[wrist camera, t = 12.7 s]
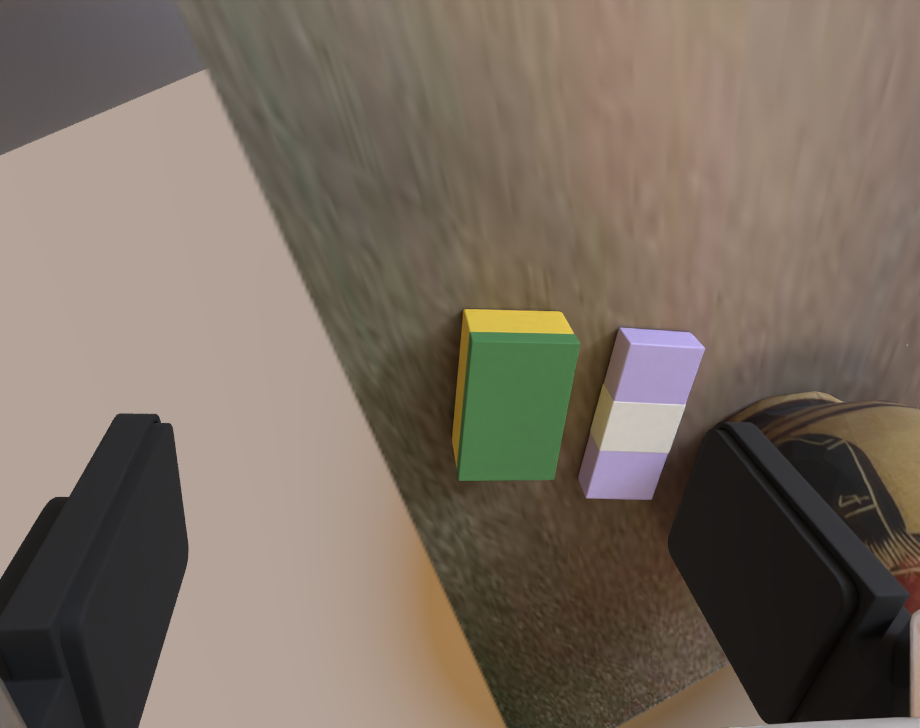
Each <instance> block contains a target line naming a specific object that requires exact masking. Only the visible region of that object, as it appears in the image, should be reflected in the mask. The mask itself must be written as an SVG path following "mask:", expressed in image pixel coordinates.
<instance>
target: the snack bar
mask: <svg viewBox="0 0 920 728" xmlns="http://www.w3.org/2000/svg"><path fill="white" fill-rule="evenodd" d="M704 350H705V348H704V347H703V345H702V344H701V343H700V342H699V341H698V340H697V339H696V338H695V337H694V336H693V335H692V333H690V332H678V331H663V330H648V329H633V328H619V330H618V333H617V337H616V341H615V344H614V348H613V352H612V355H611V359H610V363H609V366H608V370H607V374H606V377H605V381H604V383H603V385H602V389H601V393H600V396H599V400H598V404H597V407H596V411H595V415H594V418H593V422H592V426H591V429H590V436H589V439H588V443H587V447H586V450H585V454H584V458H583V461H582V465H581V469H580V472H579V476H578V480H579V482H580V485H581V487H582V490H583V492H584V495H585V497H586V498H593V499H635V500H652V497H653V495H654V492H655V489H656V486H657V483H658V480H659V477H660V475H661V472H662V469H663V466H664V463H665V460H666V458H667V455H668V453H669V451H670V449H671V446H672V443H673V440H674V437H675V434H676V432H677V429H678V426H679V423H680V420H681V417H682V415H683V412H684V409H685V406H686V405H685V404H686V401H687V398H688V395H689V392H690V389H691V387H692V384H693V381H694V378H695V375H696V372H697V370H698V367H699V364H700V361H701V358H702V355H703V353H704Z"/></svg>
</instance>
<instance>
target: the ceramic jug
mask: <svg viewBox="0 0 920 728" xmlns="http://www.w3.org/2000/svg"><path fill="white" fill-rule="evenodd" d="M906 346H908V344H907V345H906ZM725 422H749V423H753V424H754V425H755V426H757V427H758V429H759V430H760V431H761V432H762V433H763V434H764V435H765V436H766V437H767V438H768V439H769V441H770V442H771V443H772V444H773V445H774V446H775V447H776V448H777V449H778V450H779V451H780V453H781V454H782V455H783V456H784V457H785V458H786V459H787V460H788V461H789V462H790V463H791V465H792V466H793V467H794V468H795V469H796V470H797V471H798V472H799V473H800V474H801V475H802V477H803V478H804V479H805V480H806V481H807V482H808V483H809V484H810V485H811V486H812V488H813V489H814V490H815V491H816V492H817V493H818V494H819V495H820V496H821V497H822V498H823V500H824V501H825V502H826V503H827V504H828V505H829V506H830V507H831V508H832V509H833V510H834V512H835V513H836V514H837V515H838V516H839V517H840V518H841V519H842V520H843V521H844V522H845V524H846V525H847V526H848V527H849V528H850V529H851V530H852V531H853V532H854V533H855V535H856V536H857V537H858V538H859V539H860V540H861V541H862V542H863V543H864V544H865V545H866V547H867V548H868V549H869V550H870V551H871V552H872V553H873V554H874V555H875V556H876V557H877V559H878V560H879V561H880V562H881V563H882V564H883V565H884V566H885V567H886V568H887V569H888V571H889V572H890V573H891V574H892V575H893V576H894V577H895V578H896V579H897V580H898V581H899V583H900V584H901V585H902V586H903V587H904V588H905V589H906V590H907V591H908V592H909V594H910V596H909V598H908V599H907V601H906V602H905V604H904V607H905V608H906V609H907V611H908V612H909V613H910V614H911V615H912V614H913V613H915V612H916V611H918V610H919V609H920V409H918V408H914V407H911V406H908V405H904V404H899V403H894V402H890V401H882V400H864V401H852V402H843V401H841V400H838V399H836V398H834V397H833V396H831V395H829V394H827V393H822V392H817V391H812V392H804V393H796V394H788V395H780V396H772V397H769V398H766V399H763V400H761V401H759V402H757V403H755V404H753V405H752V406H750V407H748V408H746V409H745V410H743V411H741V412H739V413H737V414H736V415H734V416H732V417H731V418H730V419H728V420H727V421H725ZM702 443H703V442H702Z"/></svg>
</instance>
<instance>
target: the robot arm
mask: <svg viewBox="0 0 920 728" xmlns="http://www.w3.org/2000/svg"><path fill="white" fill-rule="evenodd" d="M668 548H669V552H670V555H671V557H672V559H673V561H674V562H675V564H676V566H677V568H678V570H679V571H680V573H681V575H682V577H683V579H684V580H685V582H686V584H687V586H688V588H689V589H690V591H691V593H692V595H693V597H694V599H695V600H696V602H697V604H698V606H699V608H700V609H701V611H702V613H703V615H704V617H705V618H706V620H707V622H708V624H709V626H710V627H711V629H712V631H713V633H714V635H715V636H716V638H717V640H718V642H719V644H720V645H721V647H722V649H723V651H724V653H725V655H726V656H727V658H728V660H729V662H730V664H731V665H732V667H733V669H734V671H735V673H736V674H737V676H738V678H739V680H740V682H741V683H742V685H743V687H744V689H745V690H746V692H747V694H748V696H749V698H750V700H751V701H752V703H753V705H754V707H755V709H756V710H757V712H758V714H759V716H760V717H761V719H762V720H763V721H764V722H765V723H767V724H769V725H756V726H741V727H727V728H920V609H919V610H918V611H916V612H915V613H913V614H912V615H911V614H910V613H909V612H908V611H907V609H906V608H905V607H904V604H905V602H906V601H907V599H908V598H909V596H910V594H909V592H908V591H907V590H906V589H905V588H904V587H903V586H902V585H901V584H900V583H899V581H898V580H897V579H896V578H895V577H894V576H893V575H892V574H891V573H890V572H889V571H888V569H887V568H886V567H885V566H884V565H883V564H882V563H881V562H880V561H879V560H878V559H877V557H876V556H875V555H874V554H873V553H872V552H871V551H870V550H869V549H868V548H867V547H866V545H865V544H864V543H863V542H862V541H861V540H860V539H859V538H858V537H857V536H856V535H855V533H854V532H853V531H852V530H851V529H850V528H849V527H848V526H847V525H846V524H845V522H844V521H843V520H842V519H841V518H840V517H839V516H838V515H837V514H836V513H835V512H834V510H833V509H832V508H831V507H830V506H829V505H828V504H827V503H826V502H825V501H824V500H823V498H822V497H821V496H820V495H819V494H818V493H817V492H816V491H815V490H814V489H813V488H812V486H811V485H810V484H809V483H808V482H807V481H806V480H805V479H804V478H803V477H802V475H801V474H800V473H799V472H798V471H797V470H796V469H795V468H794V467H793V466H792V465H791V463H790V462H789V461H788V460H787V459H786V458H785V457H784V456H783V455H782V454H781V453H780V451H779V450H778V449H777V448H776V447H775V446H774V445H773V444H772V443H771V442H770V441H769V439H768V438H767V437H766V436H765V435H764V434H763V433H762V432H761V431H760V430H759V429H758V427H757V426H755V425H754V424H753V423H749V422H721V423H718V424H717V425H716V426H715V427H714V429H713V430H709V431H708V432H707V433H706V435H705V437H704V440H703V443H702V446H701V448H700V451H699V454H698V457H697V459H696V462H695V465H694V468H693V470H692V473H691V476H690V479H689V481H688V484H687V487H686V490H685V492H684V495H683V498H682V501H681V503H680V506H679V509H678V512H677V514H676V517H675V520H674V523H673V525H672V528H671V531H670V534H669V537H668ZM187 561H188V539H187V531H186V524H185V516H184V508H183V501H182V493H181V486H180V478H179V471H178V463H177V456H176V448H175V441H174V433H173V427H172V425H171V424H170V423H161V421H160V418H159V416H158V415H157V414H118V415H116V417H115V418H114V420H113V421H112V423H111V425H110V427H109V428H108V430H107V432H106V434H105V435H104V437H103V439H102V441H101V442H100V444H99V446H98V447H97V449H96V451H95V453H94V454H93V456H92V458H91V460H90V461H89V463H88V465H87V467H86V469H85V470H84V472H83V474H82V476H81V477H80V479H79V481H78V482H77V484H76V486H75V488H74V489H73V491H72V493H71V495H70V496H69V497H55V498H53V499H52V500H50V501H49V502H48V503H47V505H46V506H45V507H44V508H43V510H42V512H41V513H40V515H39V517H38V518H37V520H36V521H35V523H34V525H33V526H32V528H31V530H30V531H29V533H28V535H27V536H26V538H25V540H24V541H23V543H22V544H21V546H20V548H19V549H18V551H17V553H16V554H15V556H14V558H13V559H12V561H11V562H10V564H9V566H8V567H7V569H6V571H5V573H4V574H3V576H2V577H1V579H0V728H138V727H139V723H140V720H141V717H142V713H143V710H144V707H145V703H146V700H147V697H148V693H149V690H150V687H151V683H152V680H153V677H154V673H155V670H156V667H157V663H158V660H159V657H160V653H161V650H162V647H163V643H164V640H165V637H166V633H167V630H168V627H169V623H170V619H171V616H172V613H173V610H174V607H175V603H176V600H177V597H178V593H179V590H180V587H181V583H182V580H183V577H184V573H185V570H186V566H187Z"/></svg>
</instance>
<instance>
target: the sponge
mask: <svg viewBox="0 0 920 728" xmlns="http://www.w3.org/2000/svg"><path fill="white" fill-rule="evenodd" d="M579 347H580V343H579V341H578V339H577V337H576V336H575V334H574V333H573V331H572V329H571V328H570V326H569V324H568V322H567V321H566V319H565V317H564V315H563V314H562V312H557V311H519V310H482V309H464V310H463V321H462V332H461V343H460V354H459V366H458V377H457V388H456V400H455V411H454V422H453V434H452V443H453V449H454V455H455V462H456V467H457V468H456V469H457V475H458V480H459V481H497V480H554V477H555V472H556V467H557V462H558V456H559V451H560V446H561V441H562V435H563V430H564V425H565V420H566V415H567V409H568V404H569V399H570V394H571V388H572V383H573V378H574V373H575V368H576V362H577V357H578V352H579Z"/></svg>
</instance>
